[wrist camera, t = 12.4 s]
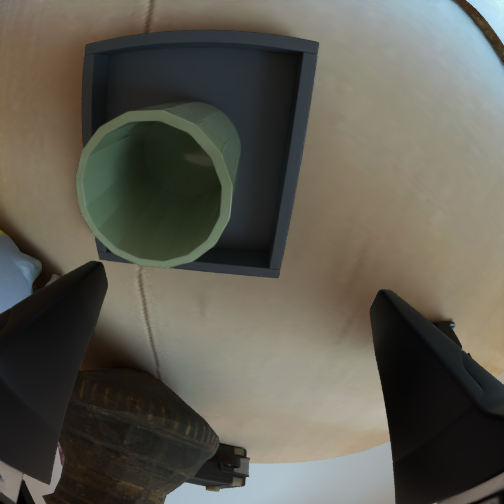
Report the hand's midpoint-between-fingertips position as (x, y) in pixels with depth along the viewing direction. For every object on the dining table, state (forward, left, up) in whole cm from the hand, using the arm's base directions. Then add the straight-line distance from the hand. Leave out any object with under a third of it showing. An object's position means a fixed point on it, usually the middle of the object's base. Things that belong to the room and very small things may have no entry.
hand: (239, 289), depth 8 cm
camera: (-65, +5, -6) cm, 65 cm away
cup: (+1, +4, -11) cm, 12 cm away
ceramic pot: (-30, +13, -12) cm, 35 cm away
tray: (+1, +4, -12) cm, 12 cm away
